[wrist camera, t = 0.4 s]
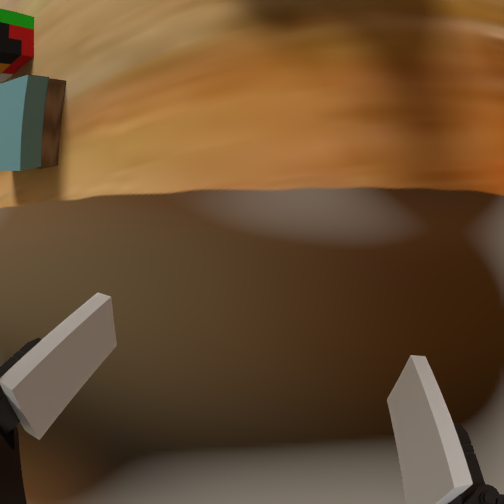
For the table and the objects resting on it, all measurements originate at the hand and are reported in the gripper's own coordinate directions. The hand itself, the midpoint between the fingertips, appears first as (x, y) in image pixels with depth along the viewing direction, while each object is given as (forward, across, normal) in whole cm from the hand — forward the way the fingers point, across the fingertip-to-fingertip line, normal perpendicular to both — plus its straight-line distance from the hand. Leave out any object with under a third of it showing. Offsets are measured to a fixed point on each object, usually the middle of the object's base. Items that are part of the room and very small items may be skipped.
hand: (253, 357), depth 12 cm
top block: (+24, -44, +10) cm, 51 cm away
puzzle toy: (+28, -54, +26) cm, 66 cm away
